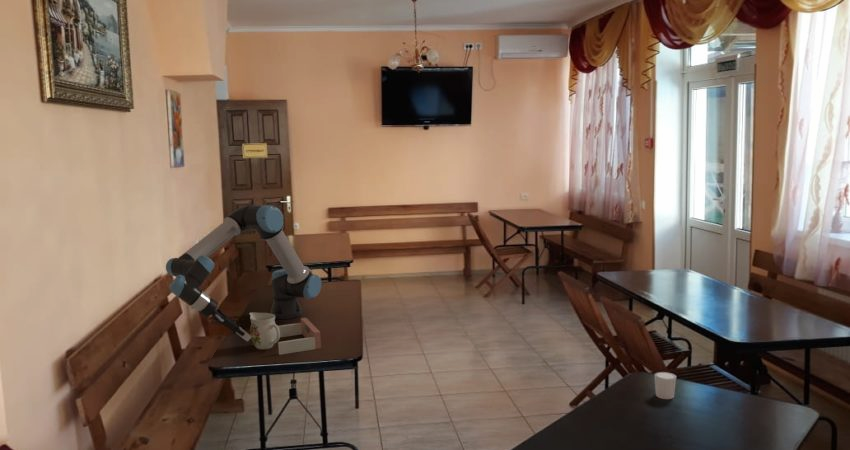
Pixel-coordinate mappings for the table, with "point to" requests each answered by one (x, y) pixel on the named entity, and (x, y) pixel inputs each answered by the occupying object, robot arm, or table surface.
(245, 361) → the table surface
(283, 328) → the deck bay
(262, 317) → the pitcher
